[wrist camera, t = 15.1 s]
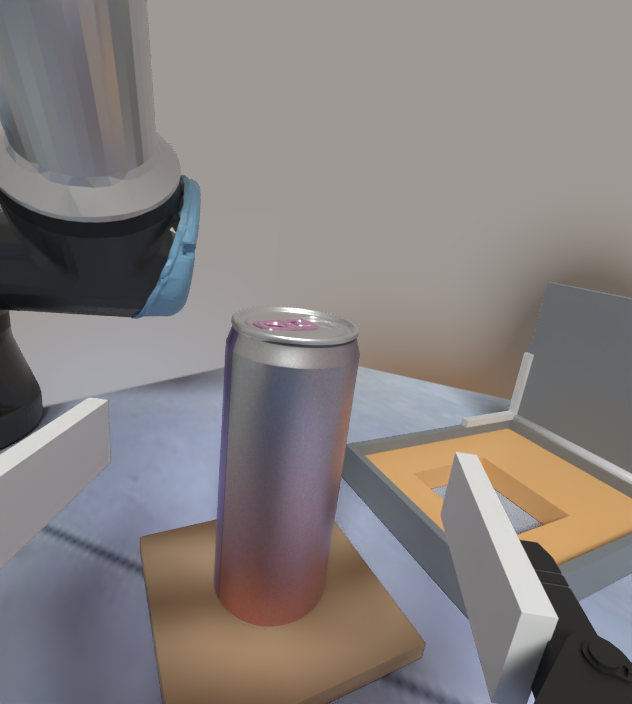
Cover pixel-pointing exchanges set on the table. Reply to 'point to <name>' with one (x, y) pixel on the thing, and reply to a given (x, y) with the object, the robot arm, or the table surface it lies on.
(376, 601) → the walnut board
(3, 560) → the robot arm
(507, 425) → the equipment case
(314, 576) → the beverage can
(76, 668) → the table surface
